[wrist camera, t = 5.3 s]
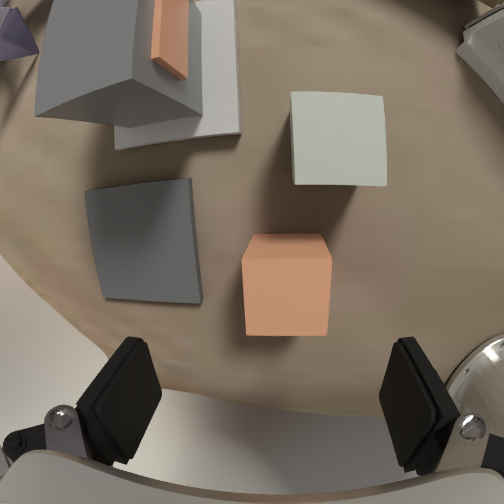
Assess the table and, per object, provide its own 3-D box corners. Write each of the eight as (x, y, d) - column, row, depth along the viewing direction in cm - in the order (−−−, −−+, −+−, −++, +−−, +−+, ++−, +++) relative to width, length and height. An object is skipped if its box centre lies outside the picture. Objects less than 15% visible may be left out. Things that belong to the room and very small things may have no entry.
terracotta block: (318, 294, 22) (326, 335, 17) (256, 294, 23) (246, 335, 17) (320, 233, 21) (332, 258, 15) (253, 233, 22) (241, 259, 16)
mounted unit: (241, 134, 19) (192, 101, 9) (122, 150, 21) (18, 152, 10) (235, 2, 16) (199, -85, 5) (126, 28, 17) (47, -20, 6)
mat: (203, 299, 24) (200, 303, 23) (107, 293, 25) (103, 297, 24) (191, 177, 21) (188, 178, 20) (89, 190, 22) (84, 191, 21)
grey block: (359, 180, 19) (386, 186, 14) (292, 179, 20) (295, 184, 14) (357, 114, 18) (382, 96, 12) (289, 112, 19) (290, 91, 13)
